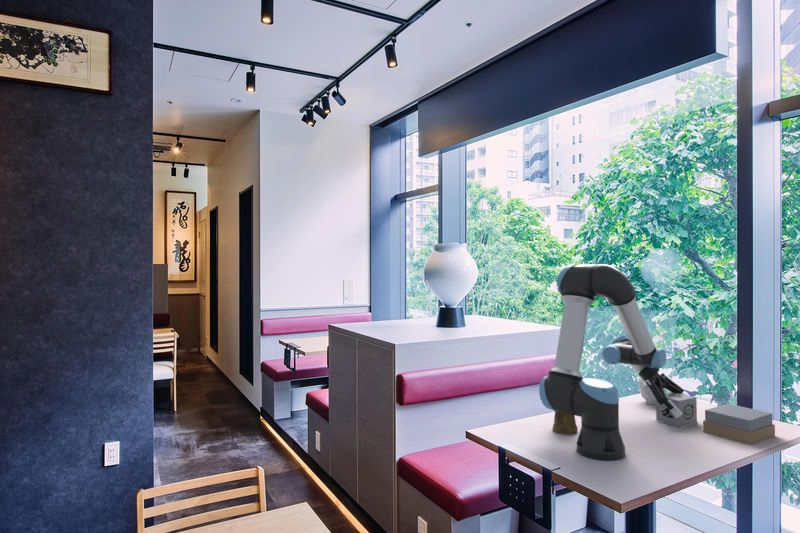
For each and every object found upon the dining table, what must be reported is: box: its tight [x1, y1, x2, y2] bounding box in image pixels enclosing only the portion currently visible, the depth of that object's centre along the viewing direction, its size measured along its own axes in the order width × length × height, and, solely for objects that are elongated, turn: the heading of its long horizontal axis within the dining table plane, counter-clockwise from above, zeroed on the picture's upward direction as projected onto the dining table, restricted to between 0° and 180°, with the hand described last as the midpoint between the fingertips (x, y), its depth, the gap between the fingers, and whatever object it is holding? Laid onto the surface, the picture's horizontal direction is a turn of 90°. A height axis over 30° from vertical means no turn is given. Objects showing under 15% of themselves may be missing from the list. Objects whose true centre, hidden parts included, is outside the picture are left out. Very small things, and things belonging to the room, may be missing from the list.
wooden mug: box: [552, 411, 578, 435], centre depth 192 cm, size 9×14×18 cm, turn 128°
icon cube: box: [655, 391, 698, 428], centre depth 198 cm, size 10×10×10 cm
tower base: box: [702, 403, 776, 446], centre depth 182 cm, size 16×16×8 cm
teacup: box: [636, 377, 666, 405], centre depth 223 cm, size 12×15×10 cm
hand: (686, 412), depth 194 cm, fingers open, 13 cm apart
